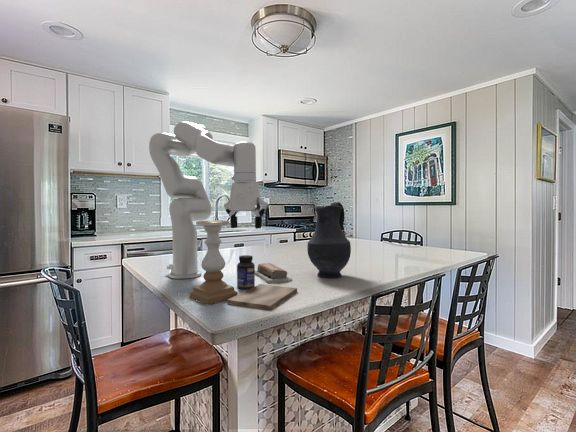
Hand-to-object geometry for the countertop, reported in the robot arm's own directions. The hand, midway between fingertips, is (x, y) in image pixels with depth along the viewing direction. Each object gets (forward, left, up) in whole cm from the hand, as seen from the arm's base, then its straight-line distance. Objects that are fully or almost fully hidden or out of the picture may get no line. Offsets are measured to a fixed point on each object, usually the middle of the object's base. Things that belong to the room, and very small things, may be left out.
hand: (246, 228), depth 112 cm
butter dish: (+1, +18, -22) cm, 28 cm away
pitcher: (+22, +31, -21) cm, 43 cm away
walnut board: (+11, -8, -21) cm, 25 cm away
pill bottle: (0, 0, -21) cm, 21 cm away
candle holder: (-3, -14, -21) cm, 26 cm away
